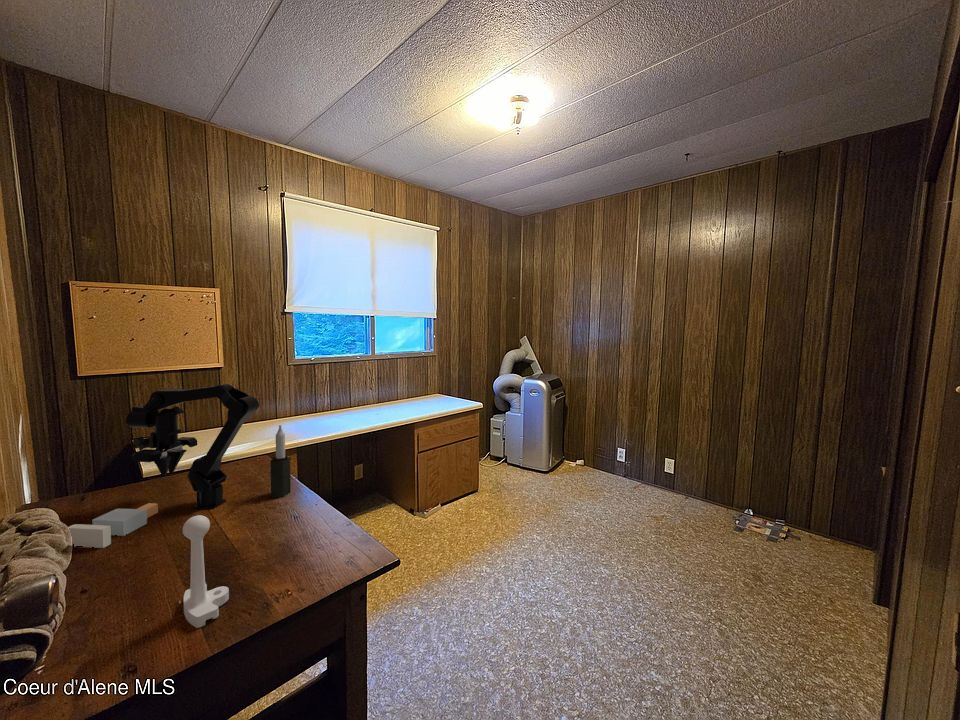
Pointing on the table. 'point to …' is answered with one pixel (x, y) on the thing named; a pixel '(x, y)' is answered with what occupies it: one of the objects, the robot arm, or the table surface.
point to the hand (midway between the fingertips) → (167, 474)
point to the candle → (280, 468)
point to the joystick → (200, 578)
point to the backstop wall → (90, 535)
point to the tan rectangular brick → (150, 509)
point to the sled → (122, 520)
